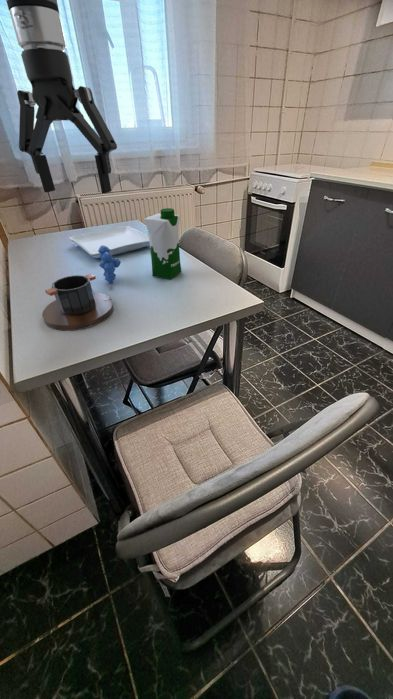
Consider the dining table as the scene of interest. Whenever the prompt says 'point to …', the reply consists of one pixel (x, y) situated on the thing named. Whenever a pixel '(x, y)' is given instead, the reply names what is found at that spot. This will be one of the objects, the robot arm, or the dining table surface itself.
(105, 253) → the grapes
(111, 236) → the square plate
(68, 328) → the turntable
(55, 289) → the cooking pot
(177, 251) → the milk carton
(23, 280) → the dining table surface
